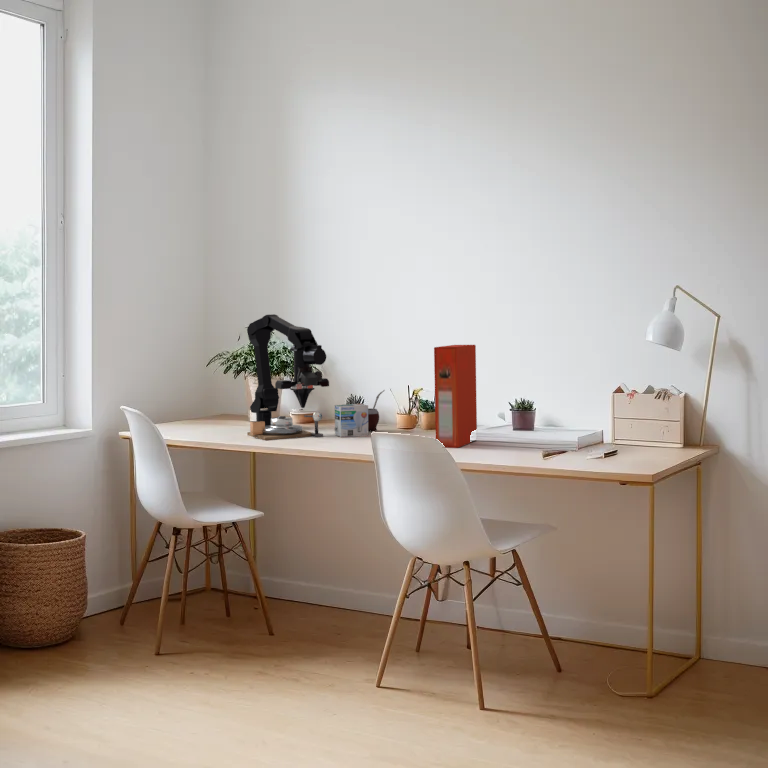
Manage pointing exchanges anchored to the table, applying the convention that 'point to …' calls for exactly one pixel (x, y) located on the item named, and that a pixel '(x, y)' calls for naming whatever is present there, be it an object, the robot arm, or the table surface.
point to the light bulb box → (351, 420)
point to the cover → (281, 422)
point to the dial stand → (316, 423)
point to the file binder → (455, 394)
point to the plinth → (272, 437)
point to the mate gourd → (373, 416)
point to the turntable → (272, 429)
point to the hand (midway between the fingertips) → (302, 407)
